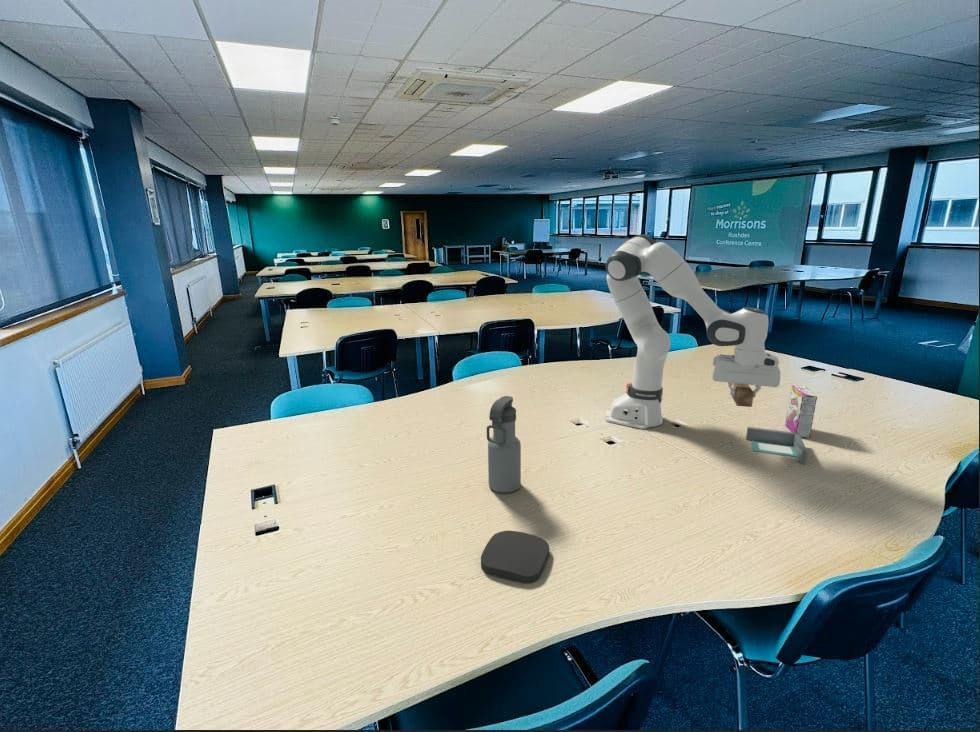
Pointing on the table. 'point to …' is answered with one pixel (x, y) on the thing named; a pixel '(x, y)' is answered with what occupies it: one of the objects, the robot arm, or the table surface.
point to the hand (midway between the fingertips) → (742, 395)
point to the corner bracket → (777, 443)
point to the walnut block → (743, 395)
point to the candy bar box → (801, 410)
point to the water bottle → (503, 448)
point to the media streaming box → (515, 556)
